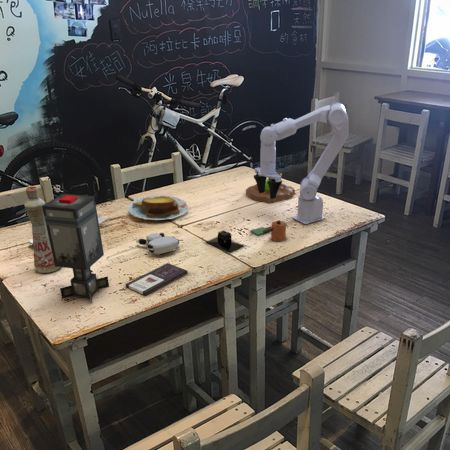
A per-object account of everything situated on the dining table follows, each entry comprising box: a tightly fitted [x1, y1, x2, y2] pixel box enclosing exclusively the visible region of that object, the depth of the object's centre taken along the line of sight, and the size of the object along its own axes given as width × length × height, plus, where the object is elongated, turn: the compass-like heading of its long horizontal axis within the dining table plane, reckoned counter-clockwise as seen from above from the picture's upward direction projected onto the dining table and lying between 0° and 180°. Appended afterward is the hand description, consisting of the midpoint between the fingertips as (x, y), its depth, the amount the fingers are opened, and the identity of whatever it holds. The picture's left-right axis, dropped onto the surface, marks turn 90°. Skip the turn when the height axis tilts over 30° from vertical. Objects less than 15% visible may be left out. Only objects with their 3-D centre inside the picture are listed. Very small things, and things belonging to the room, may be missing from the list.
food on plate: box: [127, 194, 189, 221], centre depth 210 cm, size 25×25×7 cm
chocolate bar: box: [125, 262, 188, 296], centre depth 160 cm, size 9×1×18 cm
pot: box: [263, 220, 287, 242], centre depth 183 cm, size 10×5×7 cm, turn 121°
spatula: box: [249, 225, 271, 237], centre depth 193 cm, size 14×5×1 cm, turn 121°
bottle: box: [23, 185, 62, 274], centre depth 162 cm, size 9×9×28 cm
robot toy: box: [135, 232, 184, 255], centre depth 180 cm, size 12×4×15 cm
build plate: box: [205, 230, 245, 253], centre depth 181 cm, size 12×7×5 cm, turn 45°
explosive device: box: [42, 193, 110, 304], centre depth 147 cm, size 10×10×30 cm
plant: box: [245, 171, 296, 204], centre depth 224 cm, size 20×20×11 cm
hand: (267, 195), depth 198 cm, fingers open, 7 cm apart
